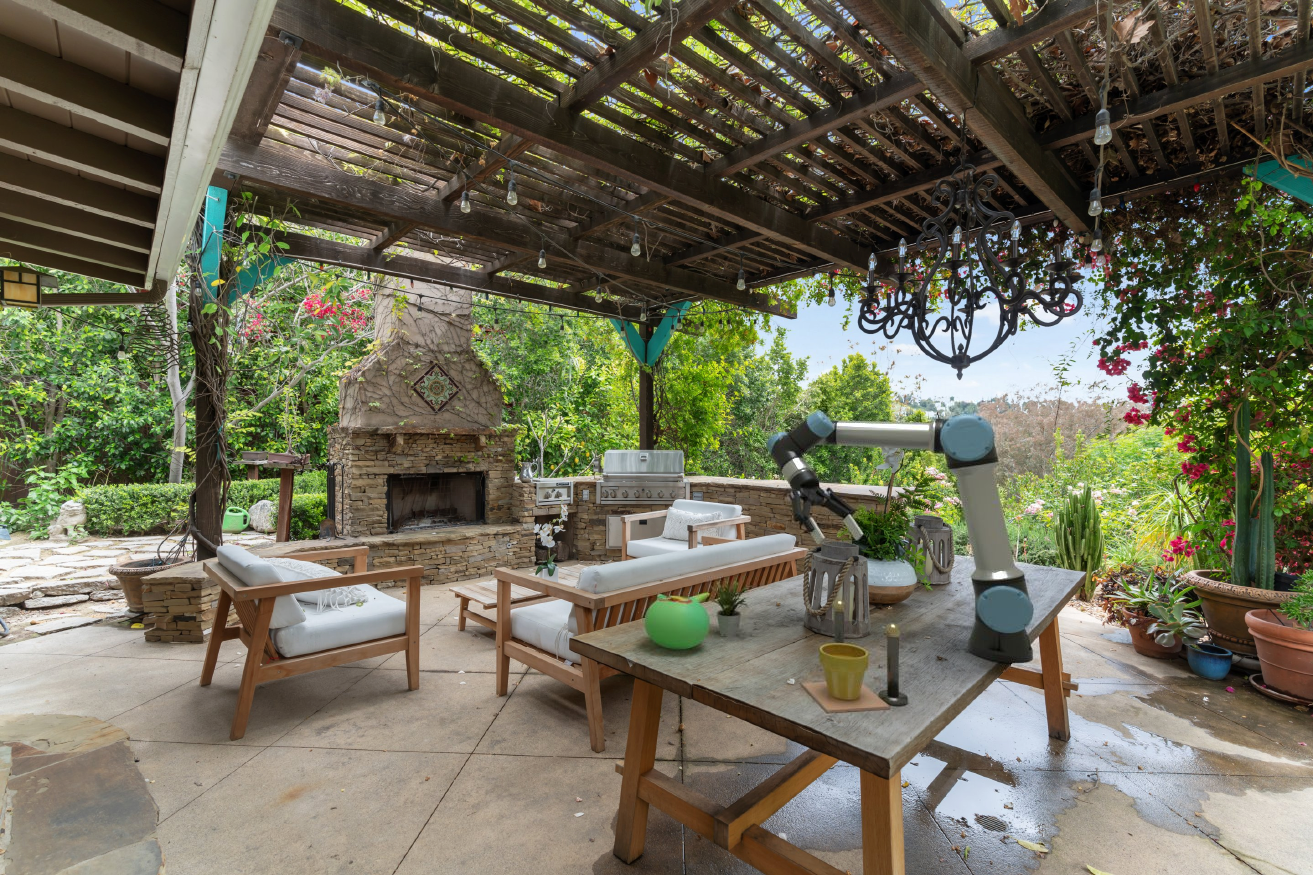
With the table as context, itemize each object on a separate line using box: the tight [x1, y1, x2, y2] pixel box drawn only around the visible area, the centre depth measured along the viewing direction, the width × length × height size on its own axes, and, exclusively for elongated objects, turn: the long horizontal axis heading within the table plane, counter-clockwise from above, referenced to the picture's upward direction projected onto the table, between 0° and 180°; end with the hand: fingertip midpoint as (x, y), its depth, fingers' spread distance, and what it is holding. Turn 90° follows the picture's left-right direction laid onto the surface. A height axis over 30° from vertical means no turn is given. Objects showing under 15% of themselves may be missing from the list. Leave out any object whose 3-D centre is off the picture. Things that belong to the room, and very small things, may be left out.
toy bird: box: [644, 592, 711, 650], centre depth 163 cm, size 18×17×15 cm
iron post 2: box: [877, 622, 909, 707], centre depth 129 cm, size 6×6×17 cm
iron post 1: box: [832, 599, 847, 644], centre depth 149 cm, size 6×6×17 cm
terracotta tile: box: [801, 681, 891, 714], centre depth 131 cm, size 14×14×1 cm
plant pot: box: [818, 642, 869, 700], centre depth 131 cm, size 10×10×10 cm
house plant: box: [707, 578, 754, 637], centre depth 173 cm, size 14×14×16 cm
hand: (840, 539), depth 152 cm, fingers open, 13 cm apart
